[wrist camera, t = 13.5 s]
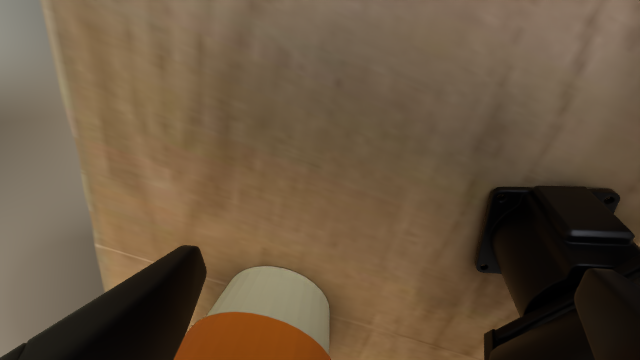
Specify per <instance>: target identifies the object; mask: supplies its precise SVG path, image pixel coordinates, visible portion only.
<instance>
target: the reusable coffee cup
mask: <svg viewBox="0 0 640 360" xmlns="http://www.w3.org/2000/svg"><path fill="white" fill-rule="evenodd" d="M329 320H330V311H329V304H328V301H327V299H326V297H325V295H324V294H323V292H322V291H321V290H320V289H319V288H318V287H317V286H316V285H315V284H314V283H313V282H312V281H310V280H309V279H307V278H306V277H304V276H302V275H300V274H298V273H296V272H293V271H290V270H288V269H284V268H279V267H273V266H259V267H252V268H249V269H246V270H244V271H242V272H240V273H238V274H237V275H236V276H235V277H234V278H233V279H232V280H231V281H230V283H229V284H228V286H227V287H226V289H225V290H224V291H223V293H222V294H221V296H220V297H219V299H218V300H217V301H216V303H215V304H214V306H213V307H212V309H211V310H210V311H209V313H208V314H207V316H206V317H205V318H203V319H201V320H199V321H197V322H196V323H195V324H194V325H193V326H192V327H191V328H190V330H189V331H188V332H187V334H186V335H185V337H184V338H183V341H182V343H181V345H180V347H179V349H178V351H177V353H176V355H175V358H174V360H331V359H330V356H329Z"/></svg>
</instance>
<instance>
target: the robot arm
mask: <svg viewBox="0 0 640 360" xmlns="http://www.w3.org/2000/svg"><path fill="white" fill-rule="evenodd" d="M500 194H504V195H503V196H502V197H500V198H497V196H498V195H500ZM607 197H610V198H609V199H607V200H605V198H607ZM619 201H620V196H619V195H618V194H617V193H616V192H615V191H613V190H611V189H587V188H586V187H570V186H536V187H534V188H533V187H497V188H495V189H493V190H492V191H491V193H490V197H489V202H488V206H487V211H486V215H485V219H484V224H483V228H482V233H481V237H480V242H479V246H478V250H477V255H476V259H475V266H476V269H477V270H478V271H479V272H483V273H498V274H502V275H503V277H504V280H505V282H506V285H507V287H508V289H509V292H510V294H511V296H512V299H513V301H514V303H515V306H516V308H517V310H518V313H519V315H520V318H518V319H516V320H514V321H512V322H510V323H508V324H506V325H504V326H503V327H501V328H499V329H497V330H495V329H492V330H490V331H489V332H487V333H485V334H484V360H640V248H639V247H638V246H637V245H636V244H635V243H634V242H633V239H634V237H635V236H634V234H633V233H632V232H631V231H630V230H629V229H628V228H627V227H626V226H625V225H624V224H623V223H622V222H621V221H620V220H619V219H618V218H617V217H616V216H615V215H614V212H615V209H616V207H617V205H618V203H619ZM483 264H486V265H483ZM482 265H483V266H482ZM206 273H207V271H206V266H205V263H204V260H203V257H202V254H201V251H200V249H199V248H198V247H197V246H188V245H183V246H180V247H178V248H177V249H175V250H174V251H172V252H170V253H169V254H167V255H166V256H164V257H162V258H161V259H159V260H157V261H156V262H154V263H153V264H151V265H149V266H148V267H146V268H145V269H143V270H141V271H140V272H138V273H136V274H135V275H133V276H132V277H130V278H128V279H127V280H125V281H124V282H122V283H120V284H119V285H117V286H115V287H114V288H112V289H111V290H109V291H107V292H106V293H104V294H103V295H101V296H99V297H98V298H96V299H94V300H93V301H91V302H90V303H88V304H86V305H85V306H83V307H81V308H80V309H78V310H77V311H75V312H73V313H72V314H70V315H68V316H67V317H65V318H64V319H62V320H60V321H59V322H57V323H56V324H54V325H52V326H51V327H49V328H47V329H46V330H44V331H43V332H41V333H39V334H38V335H36V336H35V337H33V338H32V339H30V340H29V341H28V342H27V343H23V344H21V345H20V346H18V347H17V348H15V349H13V350H12V351H10V352H9V353H7V354H6V355H4V356H2V357H1V358H0V360H174V358H175V355H176V353H177V351H178V349H179V347H180V345H181V343H182V341H183V338H184V336H185V334H186V331H187V329H188V326H189V324H190V321H191V318H192V315H193V312H194V310H195V307H196V304H197V301H198V298H199V296H200V293H201V290H202V287H203V284H204V282H205V279H206Z"/></svg>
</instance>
